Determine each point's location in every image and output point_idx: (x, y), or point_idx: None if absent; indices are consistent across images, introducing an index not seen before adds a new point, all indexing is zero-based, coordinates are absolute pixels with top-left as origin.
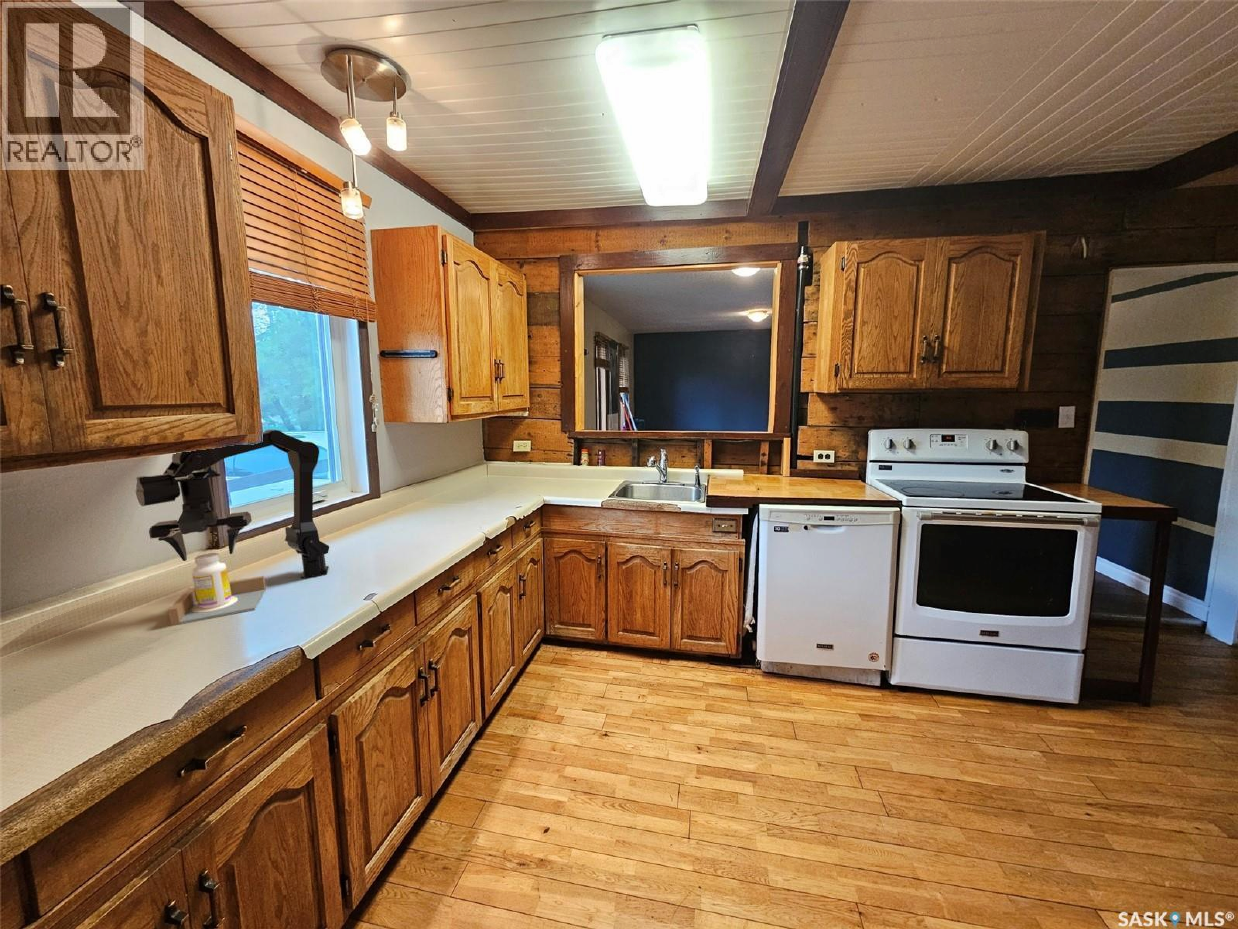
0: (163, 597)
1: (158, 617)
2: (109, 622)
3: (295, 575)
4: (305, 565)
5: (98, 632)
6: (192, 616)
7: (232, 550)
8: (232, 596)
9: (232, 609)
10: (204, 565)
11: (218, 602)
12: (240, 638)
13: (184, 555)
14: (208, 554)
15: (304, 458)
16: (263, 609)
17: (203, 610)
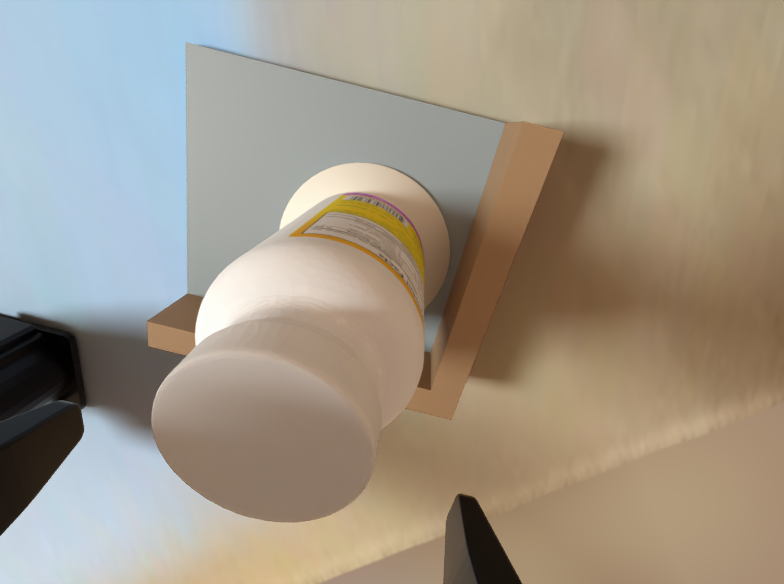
0: (523, 496)
1: (562, 299)
2: (705, 383)
3: (113, 393)
4: (3, 374)
5: (764, 299)
6: (450, 158)
7: (6, 421)
8: None
9: (287, 106)
10: (308, 319)
11: (339, 194)
12: None
13: (463, 557)
14: (253, 485)
15: None
16: (153, 14)
17: (406, 197)
